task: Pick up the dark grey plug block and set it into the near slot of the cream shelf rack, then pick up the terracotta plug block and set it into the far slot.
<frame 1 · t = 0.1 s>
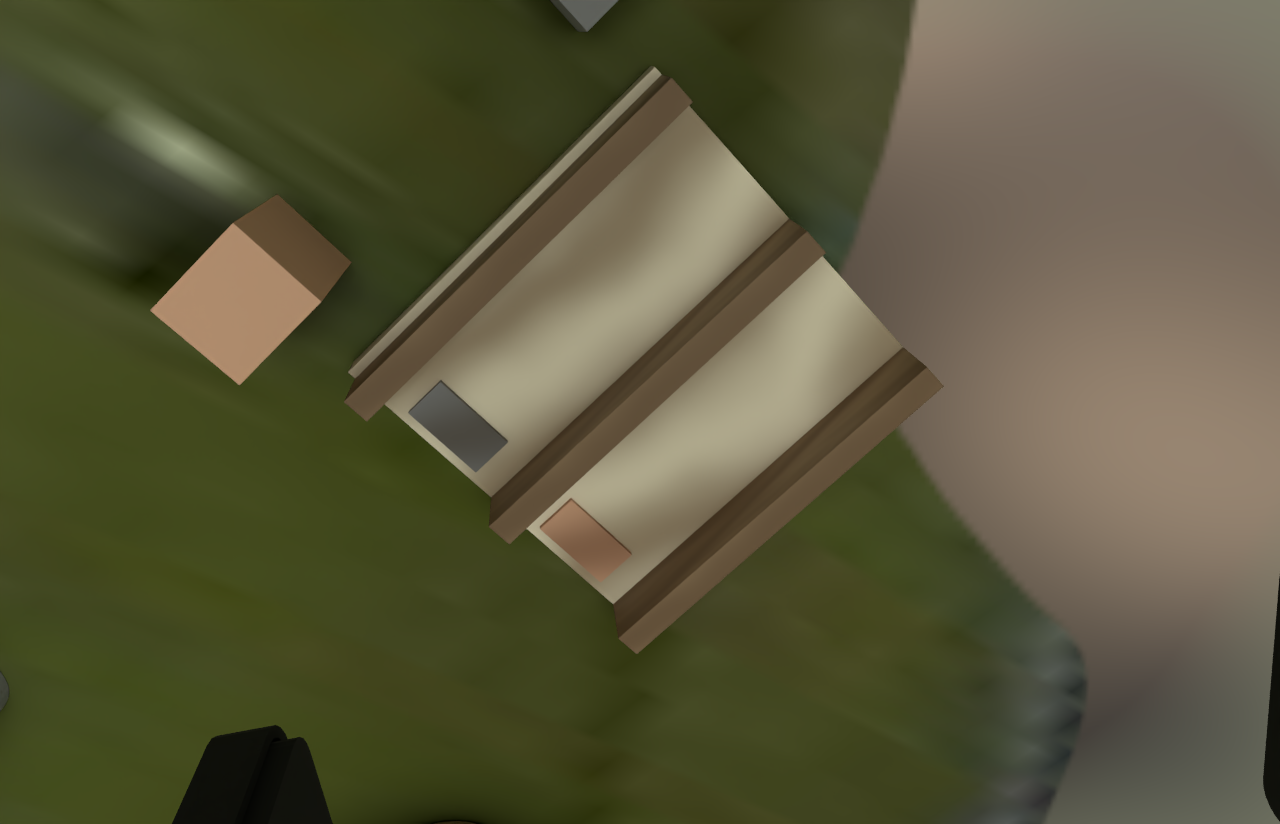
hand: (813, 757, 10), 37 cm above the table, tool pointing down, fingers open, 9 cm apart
terracotta plug block: (279, 265, 44), on the table
cream shelf rack: (641, 361, 47), on the table
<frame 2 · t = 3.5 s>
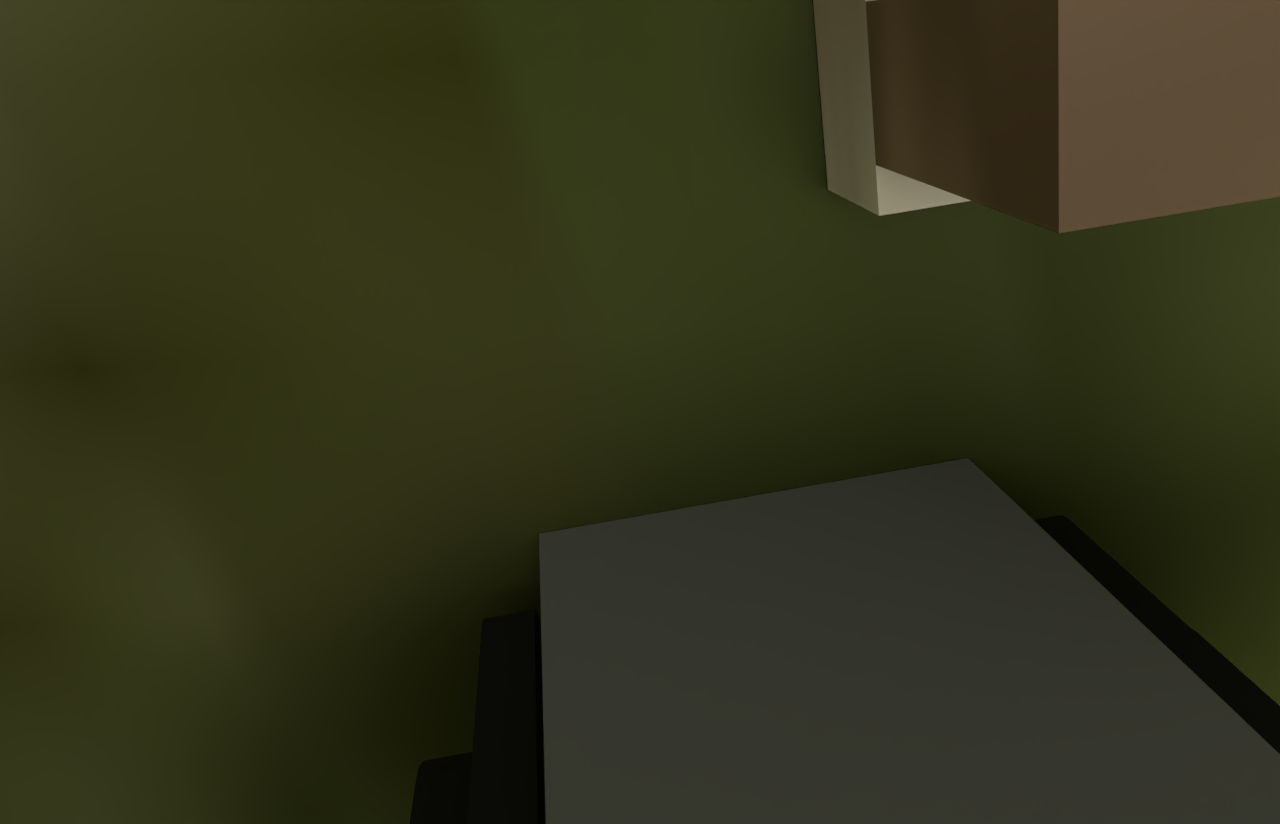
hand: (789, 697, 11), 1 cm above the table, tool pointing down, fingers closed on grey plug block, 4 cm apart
grey plug block: (774, 659, 11), on the table, touching gripper
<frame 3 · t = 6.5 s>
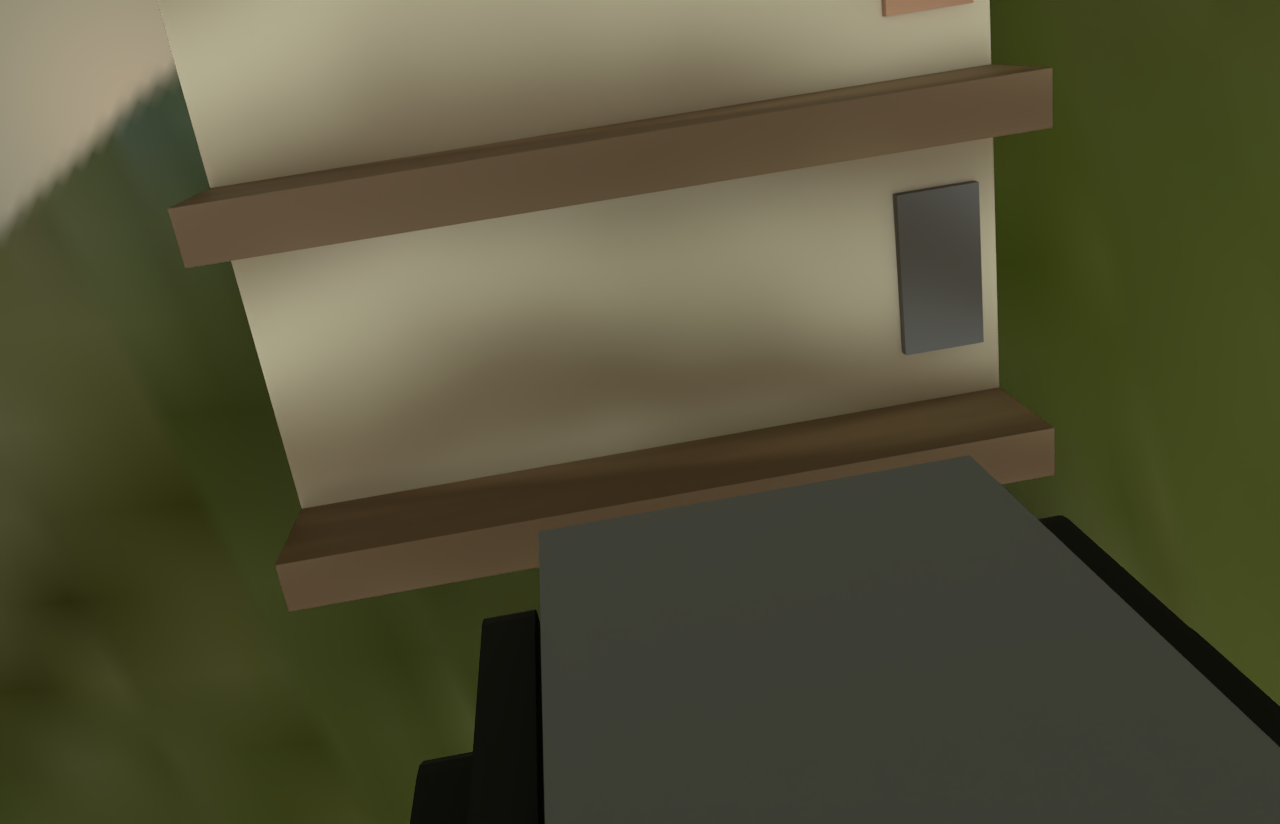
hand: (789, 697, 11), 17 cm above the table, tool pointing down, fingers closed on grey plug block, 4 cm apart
grey plug block: (775, 658, 11), point 16 cm above the table, touching gripper
cream shelf rack: (607, 145, 25), on the table
when the fingers open (3 cm above the table, at t = 9.4 s): grey plug block stays where it is, resting on cream shelf rack.
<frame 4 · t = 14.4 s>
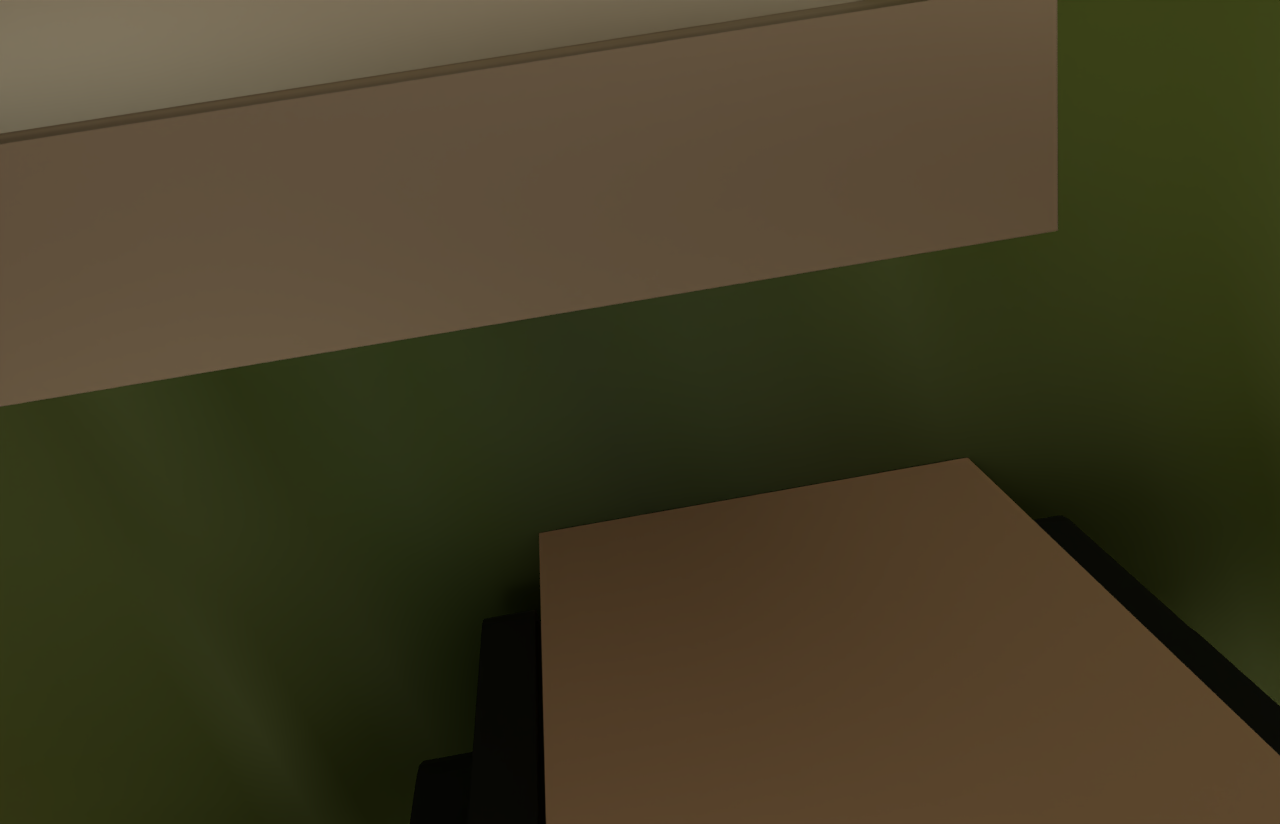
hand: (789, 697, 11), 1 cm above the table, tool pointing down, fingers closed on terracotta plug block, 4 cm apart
terracotta plug block: (774, 659, 11), on the table, touching gripper
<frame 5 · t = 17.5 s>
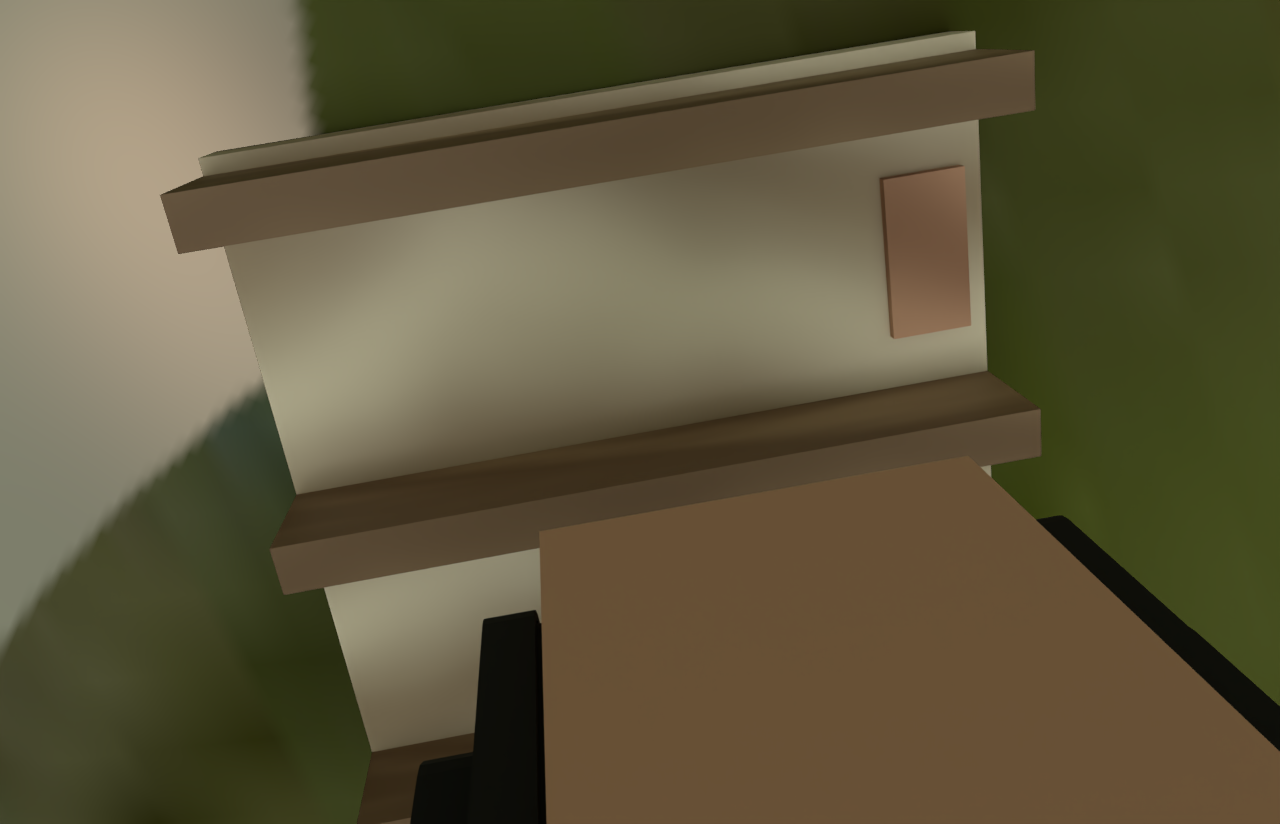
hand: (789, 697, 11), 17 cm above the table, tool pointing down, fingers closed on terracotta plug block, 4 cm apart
terracotta plug block: (774, 657, 11), point 17 cm above the table, touching gripper
cream shelf rack: (644, 432, 28), on the table
when the fingers open (3 cm above the table, at t = 20.6 s): terracotta plug block stays where it is, resting on cream shelf rack.
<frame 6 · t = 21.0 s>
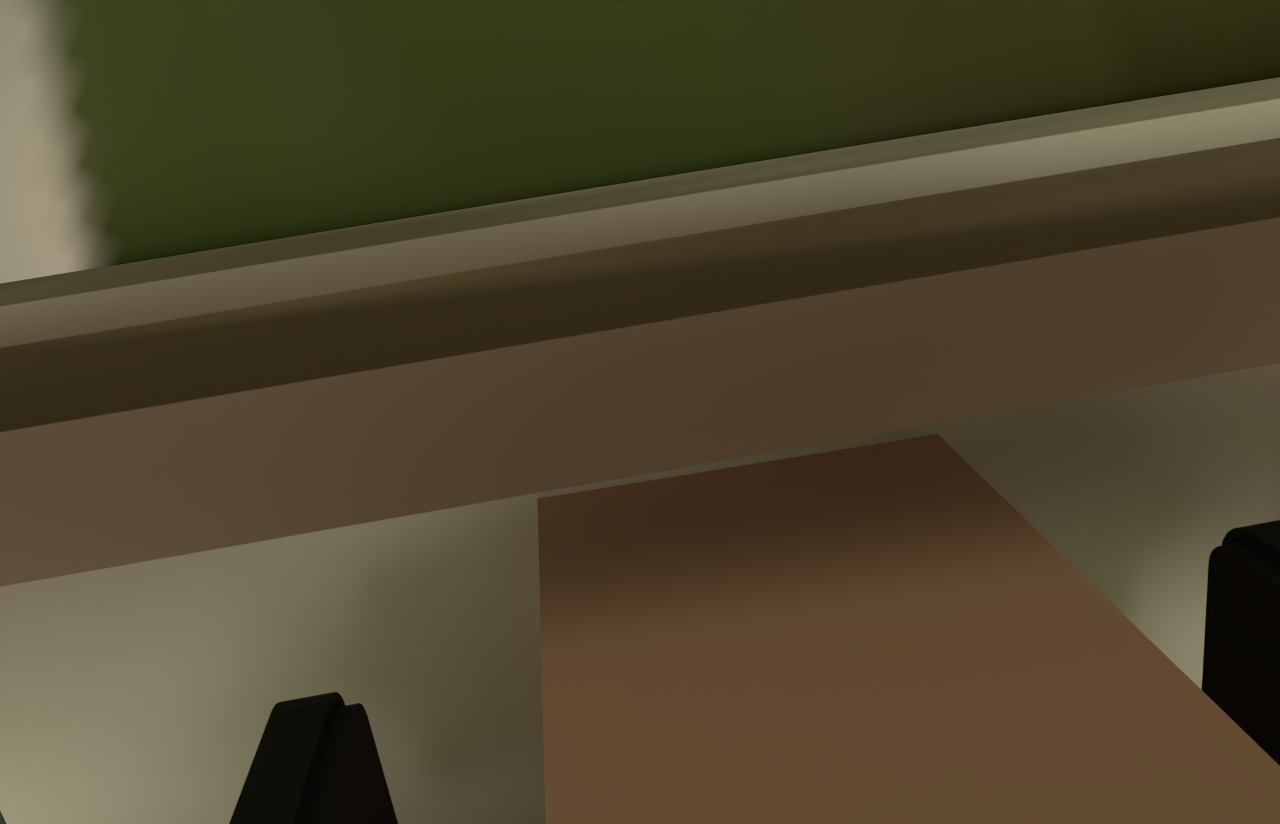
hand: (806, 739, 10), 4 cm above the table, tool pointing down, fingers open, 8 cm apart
terracotta plug block: (755, 621, 12), point 1 cm above the table, touching cream shelf rack
cream shelf rack: (765, 803, 15), on the table
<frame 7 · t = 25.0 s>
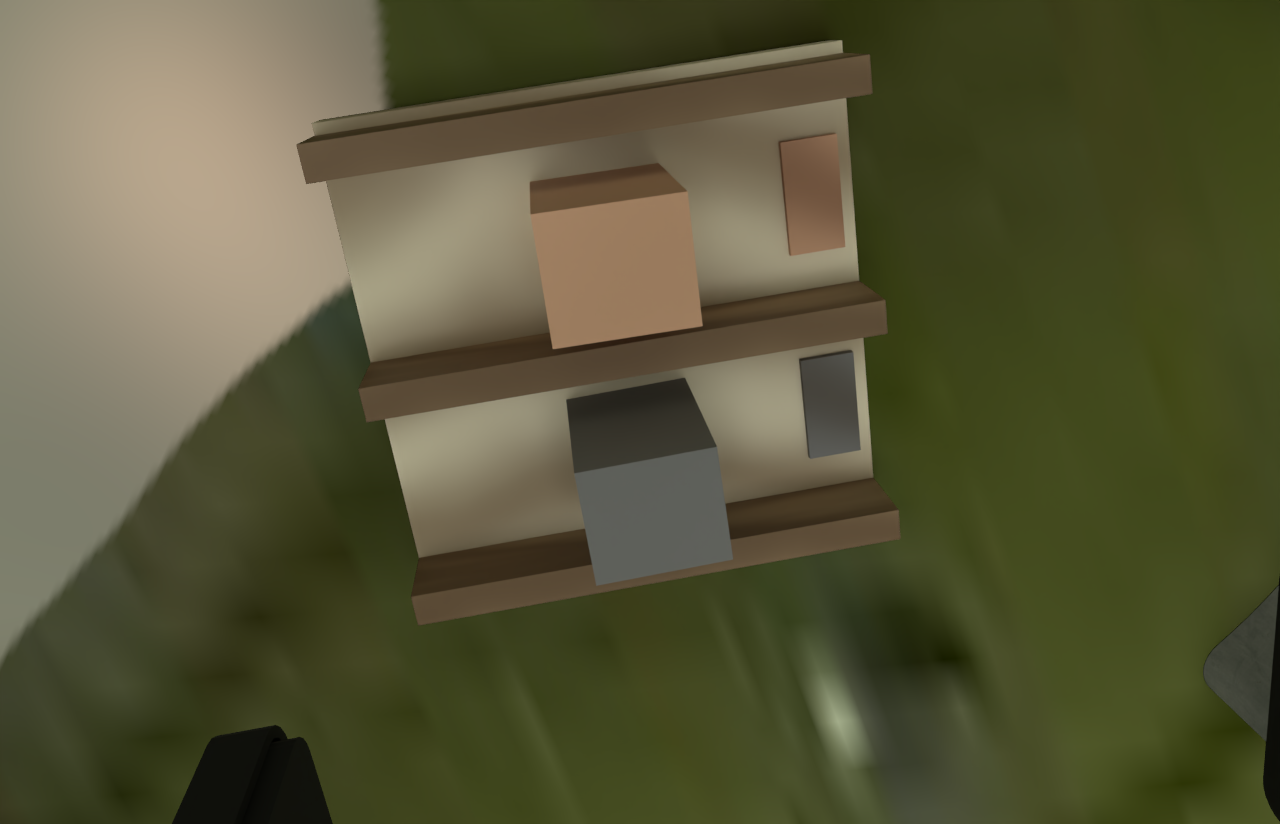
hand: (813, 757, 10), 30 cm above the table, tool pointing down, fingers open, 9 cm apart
terracotta plug block: (602, 229, 37), point 1 cm above the table, touching cream shelf rack
grey plug block: (634, 437, 40), point 1 cm above the table, touching cream shelf rack
cream shelf rack: (616, 326, 40), on the table
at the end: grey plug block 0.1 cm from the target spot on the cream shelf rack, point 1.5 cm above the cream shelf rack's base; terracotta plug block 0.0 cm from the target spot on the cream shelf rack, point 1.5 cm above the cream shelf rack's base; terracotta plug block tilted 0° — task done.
